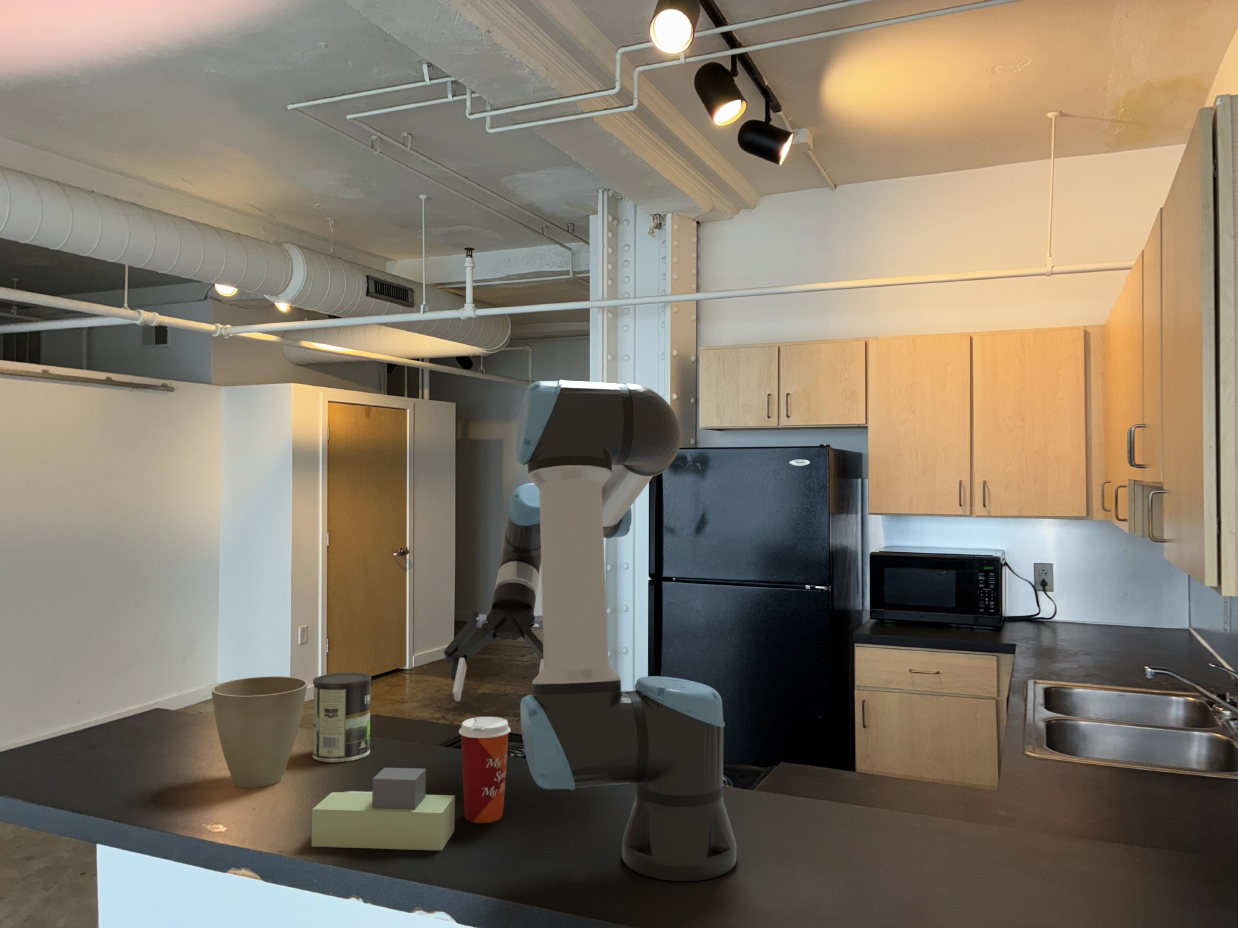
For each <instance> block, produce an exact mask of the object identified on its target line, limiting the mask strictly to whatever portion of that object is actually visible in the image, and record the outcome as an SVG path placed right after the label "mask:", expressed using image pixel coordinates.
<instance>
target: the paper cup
mask: <svg viewBox="0 0 1238 928" xmlns="http://www.w3.org/2000/svg"><path fill="white" fill-rule="evenodd" d="M511 729H512V728H511V727H509V722H508V720H507V719H505V718H502V717H497V716H478V717H471V718H467V719H465V720H464V721H463V722H462V723H461V727H460V728H459V731H458V734H460V738H461V739H460V740H461V761H462V765H461V766H462V783H463V784H462V785H463V786H462V787H463V803H464V804H463V805H464V817H465V820H466V821H468V822H470V823H474V824H490V823H494V822H497V821H500V820H501V819H502V818H503V814H504V806H505V791H506V780H507V779H506V778H507V777H506V775H507V763H508V762H507V761H508V745H509V733H511V731H512V730H511Z"/></svg>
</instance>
